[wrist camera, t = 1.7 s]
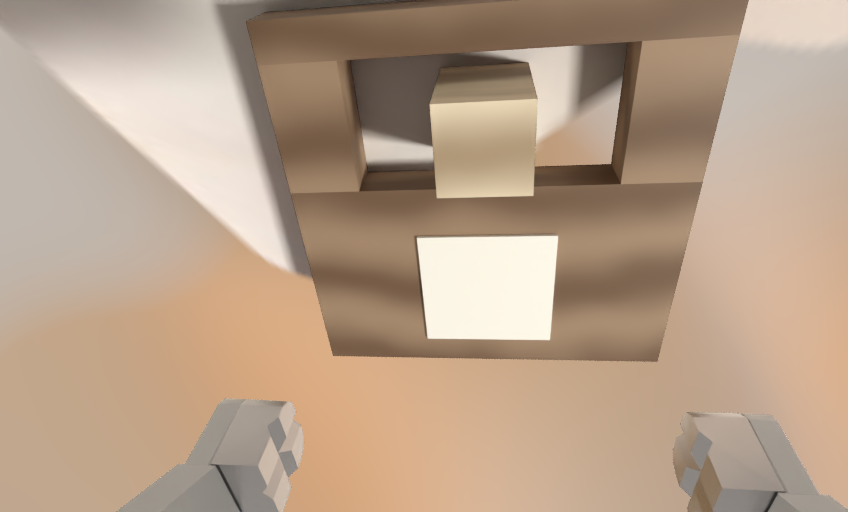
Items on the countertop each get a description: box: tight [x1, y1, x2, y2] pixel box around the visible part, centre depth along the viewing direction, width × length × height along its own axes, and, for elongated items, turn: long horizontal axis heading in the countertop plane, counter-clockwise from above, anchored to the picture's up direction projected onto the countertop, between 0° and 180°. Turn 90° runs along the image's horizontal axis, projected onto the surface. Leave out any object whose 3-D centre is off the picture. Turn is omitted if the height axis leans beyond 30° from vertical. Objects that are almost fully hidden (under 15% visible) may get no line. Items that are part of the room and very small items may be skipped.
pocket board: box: [246, 0, 749, 362], centre depth 29 cm, size 22×22×3 cm
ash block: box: [429, 63, 538, 198], centre depth 25 cm, size 4×4×6 cm
